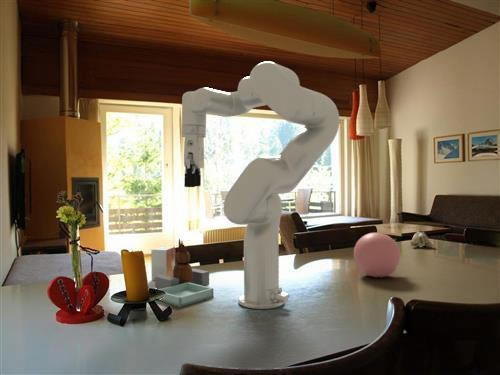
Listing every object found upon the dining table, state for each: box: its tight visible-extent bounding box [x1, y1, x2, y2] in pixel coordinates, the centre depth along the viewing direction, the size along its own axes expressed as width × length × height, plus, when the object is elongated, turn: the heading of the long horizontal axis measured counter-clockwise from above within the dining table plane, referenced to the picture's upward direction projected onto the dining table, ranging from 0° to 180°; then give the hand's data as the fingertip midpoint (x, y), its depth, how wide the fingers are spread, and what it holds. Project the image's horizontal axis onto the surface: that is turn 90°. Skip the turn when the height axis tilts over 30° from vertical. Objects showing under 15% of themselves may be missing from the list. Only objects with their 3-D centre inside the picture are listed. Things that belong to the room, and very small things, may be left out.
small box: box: [150, 246, 176, 281], centre depth 138 cm, size 8×6×10 cm
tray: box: [159, 282, 214, 308], centre depth 114 cm, size 11×12×2 cm
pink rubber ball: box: [353, 232, 401, 278], centre depth 139 cm, size 15×20×15 cm
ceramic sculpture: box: [409, 230, 434, 248], centre depth 202 cm, size 11×9×15 cm
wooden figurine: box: [173, 238, 193, 284], centre depth 126 cm, size 7×6×15 cm
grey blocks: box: [154, 267, 210, 289], centre depth 127 cm, size 8×15×4 cm, turn 139°
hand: (192, 186), depth 126 cm, fingers open, 9 cm apart
